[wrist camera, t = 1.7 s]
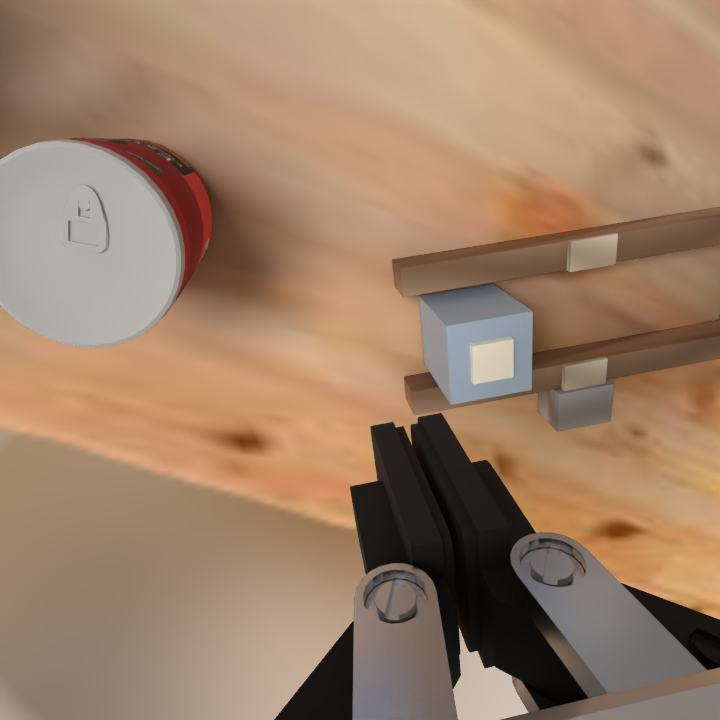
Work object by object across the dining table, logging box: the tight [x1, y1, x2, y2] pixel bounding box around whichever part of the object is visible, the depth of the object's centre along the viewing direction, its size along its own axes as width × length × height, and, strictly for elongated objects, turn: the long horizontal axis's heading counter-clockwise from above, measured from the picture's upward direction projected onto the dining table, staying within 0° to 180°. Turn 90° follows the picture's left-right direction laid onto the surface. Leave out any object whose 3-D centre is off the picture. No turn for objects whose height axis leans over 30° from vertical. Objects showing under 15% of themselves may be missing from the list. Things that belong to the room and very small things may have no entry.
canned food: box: [0, 138, 212, 348], centre depth 24 cm, size 8×8×11 cm
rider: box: [419, 284, 533, 405], centre depth 32 cm, size 5×5×6 cm
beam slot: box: [392, 207, 720, 432], centre depth 35 cm, size 13×26×3 cm, turn 97°
